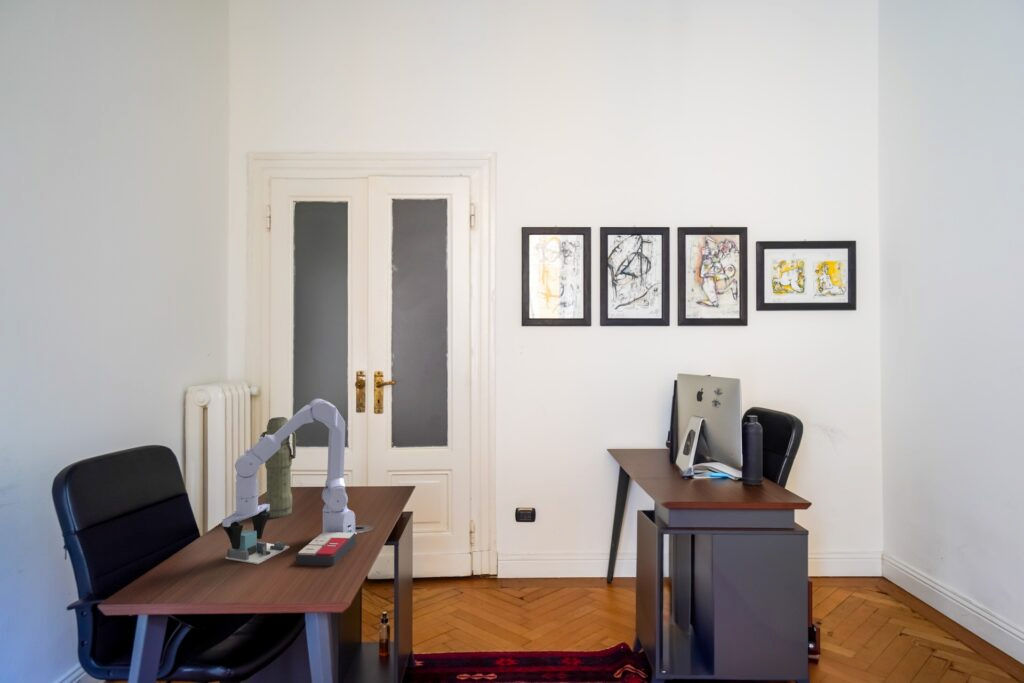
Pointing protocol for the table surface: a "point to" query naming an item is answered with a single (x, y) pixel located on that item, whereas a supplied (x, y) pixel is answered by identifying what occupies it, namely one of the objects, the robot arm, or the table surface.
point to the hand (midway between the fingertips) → (247, 543)
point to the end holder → (243, 552)
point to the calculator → (326, 549)
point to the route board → (264, 553)
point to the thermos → (279, 472)
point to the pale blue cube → (248, 541)
